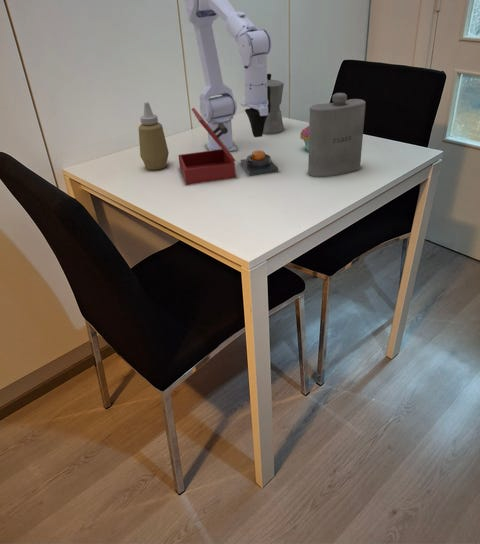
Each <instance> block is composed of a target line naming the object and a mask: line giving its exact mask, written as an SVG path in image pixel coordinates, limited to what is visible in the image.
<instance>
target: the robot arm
mask: <svg viewBox="0 0 480 544" xmlns="http://www.w3.org/2000/svg"><path fill="white" fill-rule="evenodd" d="M184 6H185V10H186V14H187V18H188V23H191V24H192V25H193V30H194V34H195V41H196V44H197V49H198V53H199V54H198V55H199V59H200V63H201V69H202V73H203V78H204V83H205V88H204V89H203V90H202V91H201V93H200V94H199V96H198V98H199V111H200V116H201V117H202V118H203V119H204V121H205V122H206V123H207V124H208V125H209V127H210V128H211V129H212V130H213V131H214V130H215V129H216V128H217V127H218V124H219V123H223V124H224V125H225V127H226V128H227V130H228V132H227V133H226V134H222V135H221V136H220V137H219V139H220V140H221V141H222V142H223V143H224V145H225V146H226V147H227V149H228V150H229V152H235V151H237V150H238V149H237V147H236V146H235V145H234V142H233V141H234V140H233V127H232V120H233V119H234V116H235V115H236V113H237V109H238V105H237V100H236V98H235V97H234V93H233V90H232V88H230V87H229V86H228V85H225V84H224V82H223V76H222V71H221V66H220V60H219V56H218V49H217V46H216V40H215V34H214V30H213V23H214V21H216V20H217V19H219V18H220V19H221V20H223V22H225V29H226V32H228V34H229V35H230V37H232V38H233V40H234V41H235V42H236V44H237V49H238V53H239V55H240V61H241V62H240V63H241V64H242V65H243V77H244V79H243V80H244V98H245V100H244V101H241V102H240V105H241V106H242V107H248V108H246V109H244V112H245V114H246V116H247V119H248V121H249V123H250V128H251V133H252V136H253V137H254V138H262V137H263V135H264V134H263V130H264V125H265V121H266V118H267V116H268V114H269V110H268V98H267V74H268V70H267V69H268V64H267V62H268V61H267V55H268V54H270V51H271V49H272V39H271V35H270V34H269V32H268V30H267V29H266V28H257V26H256V25H254V23H253V22H252V21H251V20H250V19H249V18H248V16H247V15H246V13H245V12H244V11H236V10H235V8H234V6H233V5H232V4H231V3H230V1H229V0H184ZM220 132H221V130H219V131H218V132H217V133H216V135H217V134H218V133H220ZM207 139H208V142H206V143H205V146H206V147H207V149H208V151H212V150H219V149H222V148H221V147H220V146H219V145H218V144H217V142H216V141H215V140H214V139H213V138H212V136H211V135H210V134H209V133H208V132H207Z"/></svg>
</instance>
